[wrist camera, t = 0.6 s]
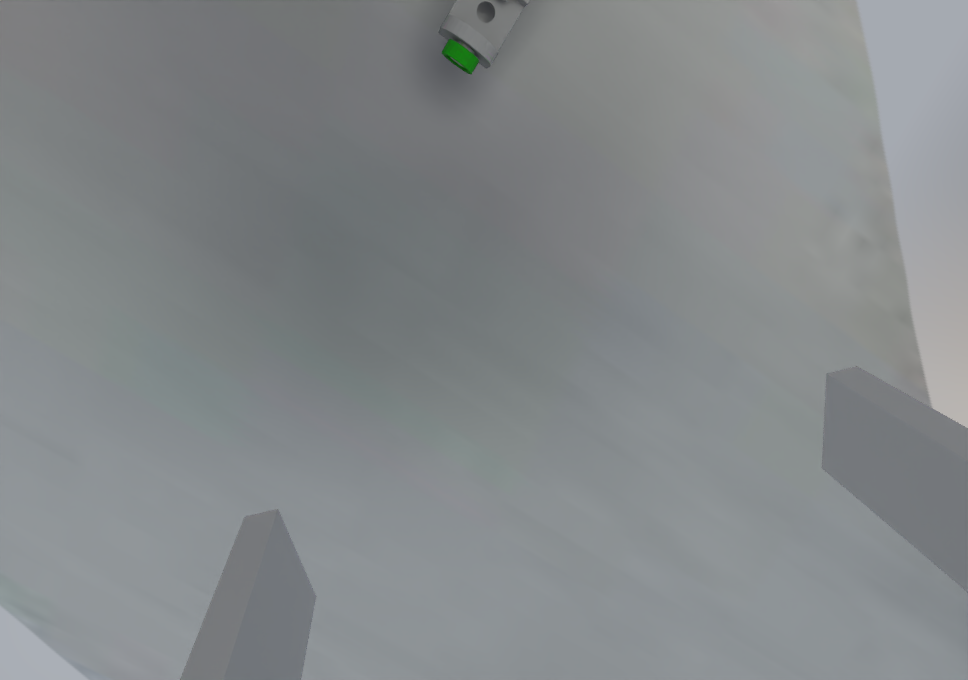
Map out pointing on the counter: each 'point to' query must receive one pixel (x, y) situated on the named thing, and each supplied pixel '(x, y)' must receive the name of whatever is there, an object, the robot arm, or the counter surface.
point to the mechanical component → (478, 30)
